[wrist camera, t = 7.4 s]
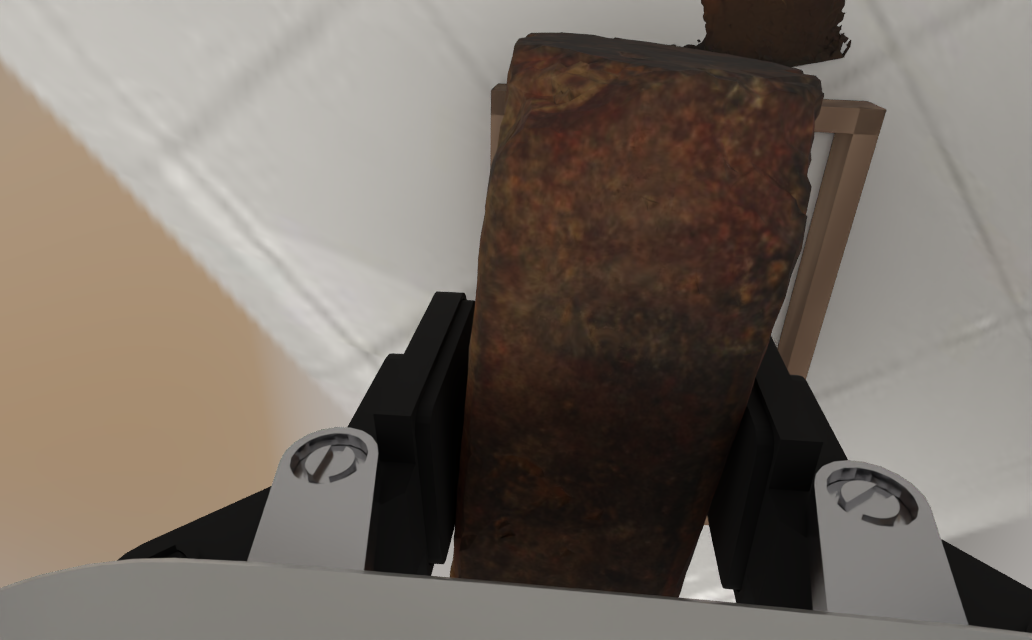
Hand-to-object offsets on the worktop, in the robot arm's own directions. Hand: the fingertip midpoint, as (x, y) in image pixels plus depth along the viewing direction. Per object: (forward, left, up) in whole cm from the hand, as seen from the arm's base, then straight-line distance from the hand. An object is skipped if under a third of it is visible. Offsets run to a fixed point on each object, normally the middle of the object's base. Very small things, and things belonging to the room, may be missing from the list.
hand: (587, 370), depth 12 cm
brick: (0, 0, -2) cm, 2 cm away
